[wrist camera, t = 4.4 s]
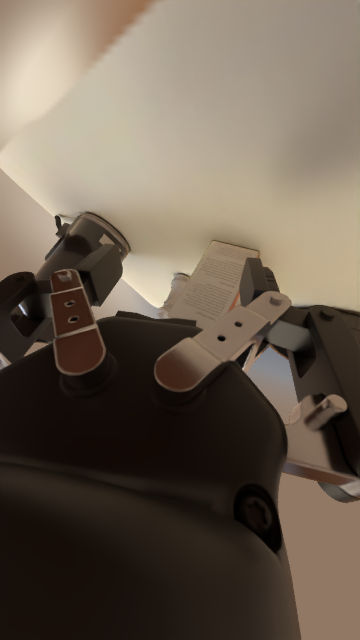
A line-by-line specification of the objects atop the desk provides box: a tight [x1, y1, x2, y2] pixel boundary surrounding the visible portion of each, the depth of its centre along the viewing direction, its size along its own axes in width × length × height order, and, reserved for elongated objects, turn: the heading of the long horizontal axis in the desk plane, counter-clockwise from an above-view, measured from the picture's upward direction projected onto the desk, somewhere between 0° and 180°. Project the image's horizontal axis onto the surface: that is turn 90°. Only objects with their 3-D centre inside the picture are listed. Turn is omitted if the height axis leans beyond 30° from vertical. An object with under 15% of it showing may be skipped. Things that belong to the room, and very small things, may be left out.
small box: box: [167, 241, 259, 329], centre depth 24 cm, size 8×6×10 cm
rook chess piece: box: [158, 274, 190, 319], centre depth 36 cm, size 4×4×8 cm
